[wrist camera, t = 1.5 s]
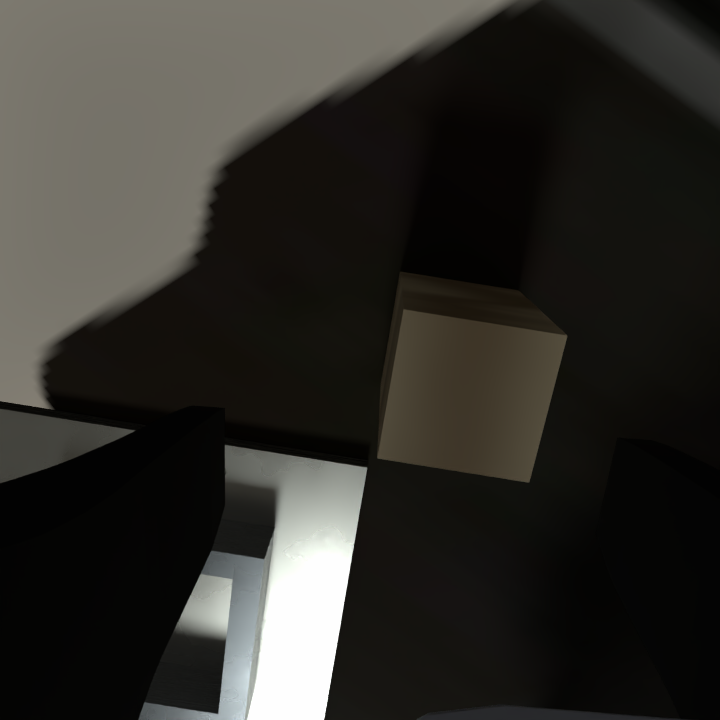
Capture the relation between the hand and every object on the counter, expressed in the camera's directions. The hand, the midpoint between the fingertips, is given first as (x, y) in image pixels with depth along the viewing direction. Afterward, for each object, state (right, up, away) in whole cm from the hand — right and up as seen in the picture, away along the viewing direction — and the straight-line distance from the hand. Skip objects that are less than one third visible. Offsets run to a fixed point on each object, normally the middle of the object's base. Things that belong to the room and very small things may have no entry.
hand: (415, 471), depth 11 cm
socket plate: (-9, -7, +13) cm, 17 cm away
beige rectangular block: (+2, +3, +10) cm, 10 cm away
